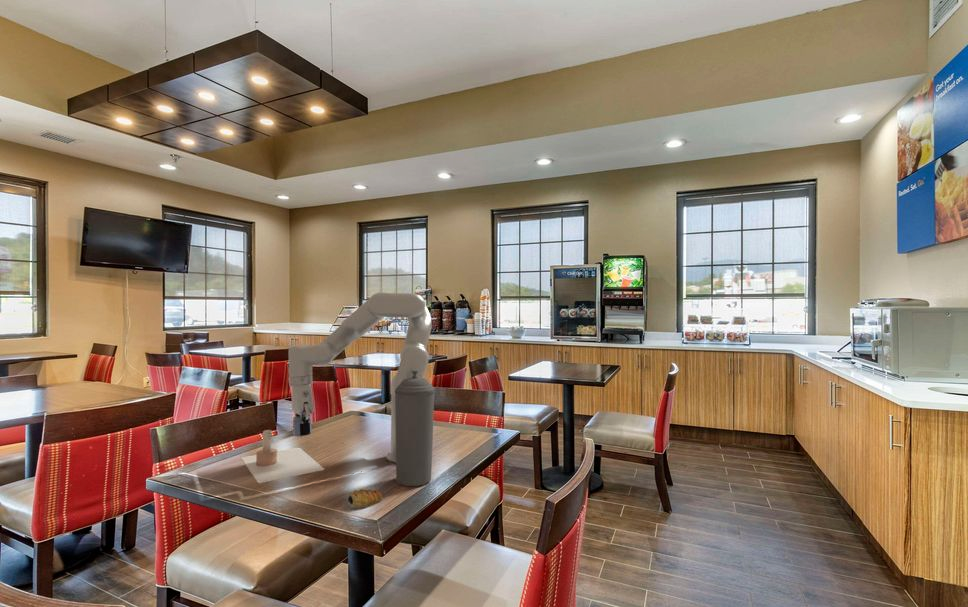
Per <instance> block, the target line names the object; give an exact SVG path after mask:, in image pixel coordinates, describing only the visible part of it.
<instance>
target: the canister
mask: <svg viewBox="0 0 968 607" xmlns="http://www.w3.org/2000/svg"><path fill="white" fill-rule="evenodd" d="M411 372H412V373H413V376H412V378H406V379H404V380H403V381H402V382H401V383H400V384H399V385H398V387H397V388H396V390H395V425H396V463H395V468H396V469H395V470H396V472H395V473H396V474H395V475H396V476H395V478H396V483H397V484H399V485H401V486H403V487H420V485H421V486H423V485H427V484H429V483H430V481H431V480H432V468H433V466H432V465H433V444H434V443H433V442H434V441H433V439H434V412H435V408H434V405H435V393H436V390H435V388H434V386H433V385H432V384H431V383H430V382H429V380H428V379H426V378H425V377H424V378H419V377H417V372H419V370H411Z"/></svg>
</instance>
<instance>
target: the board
mask: <svg viewBox="0 0 968 607" xmlns="http://www.w3.org/2000/svg"><path fill="white" fill-rule="evenodd" d="M240 458H241V460H242V462H243V463H244V464H245V467H246V468H247V469H248V470H249V472H250V474H251V475H252V476H253V478H254V480H256V482H257V483H258V484H262V483H266V482H272V481H276V480H281V479H286V478H292V477H295V476H301V475H305V474H311V473H315V472H316V473H317V472H320V471H325V470H326V468H324V467H323V466H322V465H321V464H319V462H318V461H315V460H314V459H313V458H312V457H311V456H310V455H309V454H308V453H306V451H304V450H303V449H302V448H300V447H294V448H288V449H287V448H286V449H282V450H277V463H276V464H274V465H270V466H257V465H256V454H254V455H253V454H252V455H248V456H247V455H246V456H242V457H240Z"/></svg>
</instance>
